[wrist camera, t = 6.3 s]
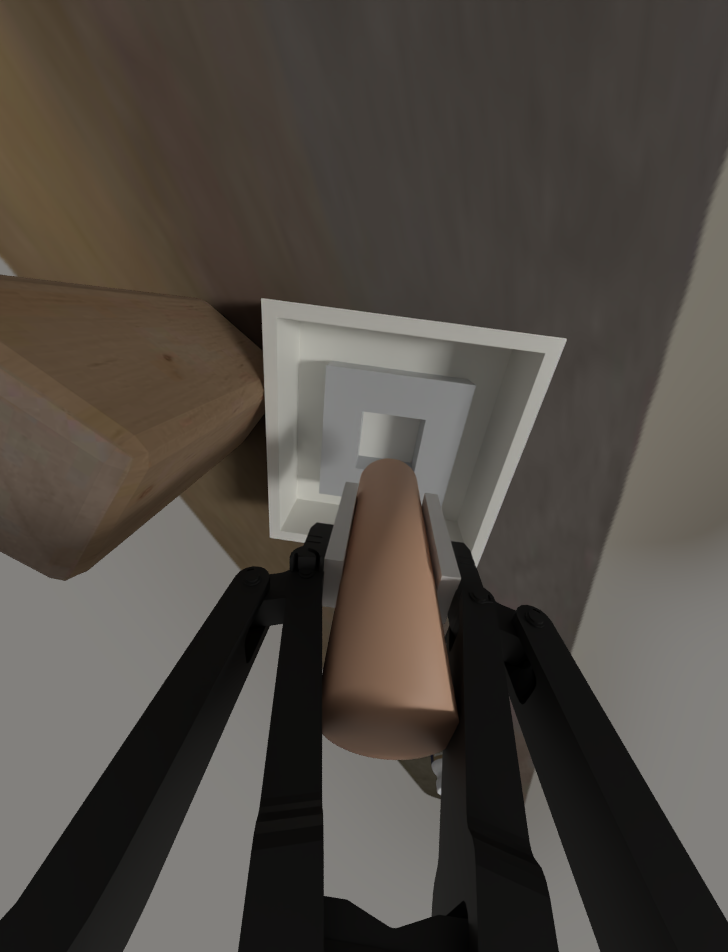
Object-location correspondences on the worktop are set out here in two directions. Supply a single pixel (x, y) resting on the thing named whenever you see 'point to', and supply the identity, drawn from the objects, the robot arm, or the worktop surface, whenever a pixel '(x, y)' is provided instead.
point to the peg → (388, 630)
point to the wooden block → (110, 413)
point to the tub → (396, 411)
